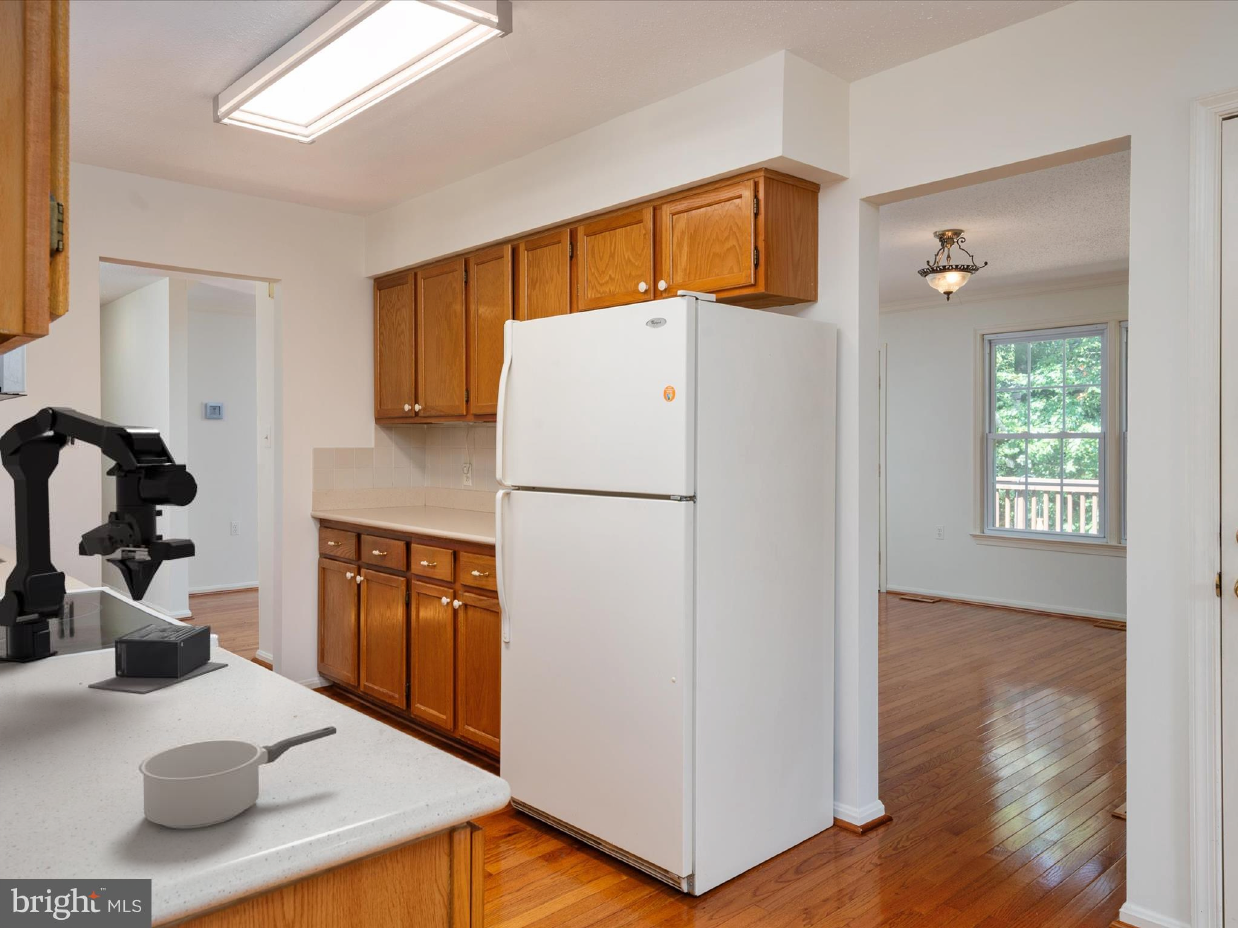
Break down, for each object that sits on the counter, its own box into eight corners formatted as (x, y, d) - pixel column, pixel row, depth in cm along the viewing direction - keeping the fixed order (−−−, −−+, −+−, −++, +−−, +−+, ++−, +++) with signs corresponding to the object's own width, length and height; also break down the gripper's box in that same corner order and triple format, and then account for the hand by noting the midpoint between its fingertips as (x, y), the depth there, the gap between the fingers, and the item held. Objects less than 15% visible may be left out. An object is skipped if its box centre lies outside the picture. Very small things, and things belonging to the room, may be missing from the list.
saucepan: (358, 790, 96) (357, 739, 96) (158, 848, 82) (157, 789, 82) (313, 761, 104) (313, 714, 104) (126, 809, 90) (125, 756, 90)
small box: (113, 679, 138) (179, 680, 138) (112, 638, 138) (178, 639, 137) (151, 660, 149) (212, 661, 148) (150, 622, 148) (211, 623, 148)
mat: (88, 686, 134) (88, 685, 134) (176, 660, 150) (176, 658, 150) (144, 693, 131) (144, 691, 131) (228, 665, 147) (228, 663, 147)
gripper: (46, 506, 137) (48, 605, 137) (139, 510, 131) (141, 613, 131) (108, 501, 147) (109, 593, 148) (197, 504, 141) (198, 600, 142)
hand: (137, 600), depth 142 cm, fingers closed
